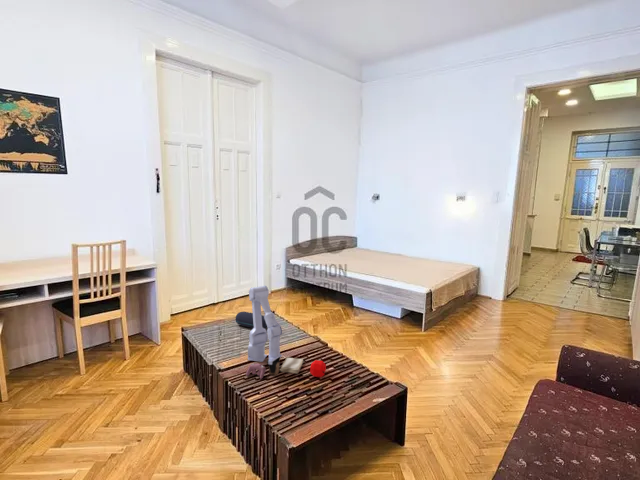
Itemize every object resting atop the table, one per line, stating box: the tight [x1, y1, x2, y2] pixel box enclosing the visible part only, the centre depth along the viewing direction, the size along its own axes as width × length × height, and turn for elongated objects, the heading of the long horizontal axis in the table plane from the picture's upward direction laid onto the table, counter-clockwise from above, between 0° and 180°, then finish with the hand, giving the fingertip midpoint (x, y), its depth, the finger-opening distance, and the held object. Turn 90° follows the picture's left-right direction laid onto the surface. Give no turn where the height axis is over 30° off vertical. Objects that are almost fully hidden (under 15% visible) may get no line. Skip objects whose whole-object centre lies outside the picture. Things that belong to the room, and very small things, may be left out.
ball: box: [309, 359, 327, 378], centre depth 184 cm, size 8×8×8 cm
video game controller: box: [245, 363, 267, 380], centre depth 183 cm, size 10×5×7 cm, turn 71°
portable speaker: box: [235, 311, 268, 330], centre depth 244 cm, size 25×10×10 cm, turn 66°
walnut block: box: [268, 361, 280, 376], centre depth 186 cm, size 4×4×5 cm
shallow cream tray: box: [280, 357, 304, 374], centre depth 193 cm, size 10×12×2 cm
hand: (274, 370), depth 186 cm, fingers closed on walnut block, 4 cm apart
